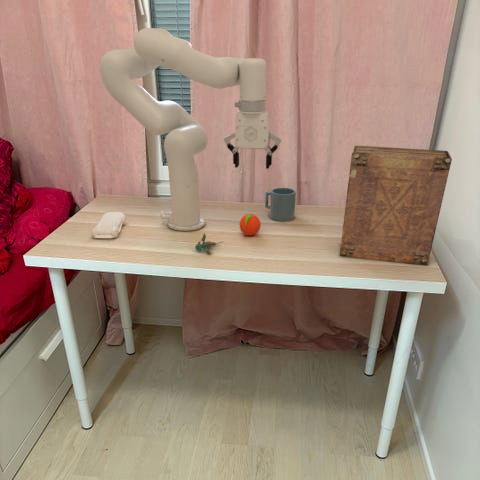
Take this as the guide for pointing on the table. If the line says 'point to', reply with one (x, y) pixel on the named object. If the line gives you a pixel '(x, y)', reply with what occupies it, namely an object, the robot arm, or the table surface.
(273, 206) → the blue mug
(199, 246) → the dragon figurine
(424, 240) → the book
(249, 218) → the clementine
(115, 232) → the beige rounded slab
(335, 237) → the table surface
